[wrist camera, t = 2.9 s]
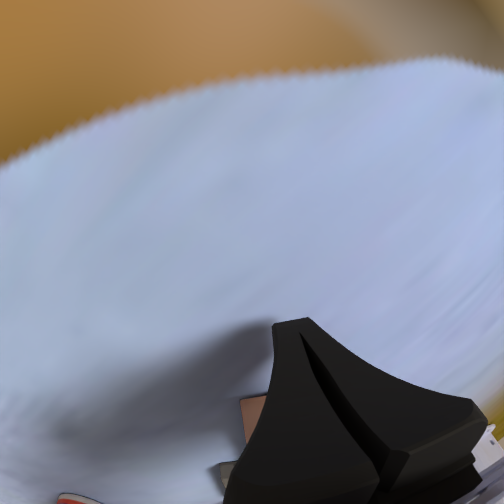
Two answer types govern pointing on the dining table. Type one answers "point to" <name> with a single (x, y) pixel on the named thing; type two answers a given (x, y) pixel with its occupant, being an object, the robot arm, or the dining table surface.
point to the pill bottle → (74, 499)
